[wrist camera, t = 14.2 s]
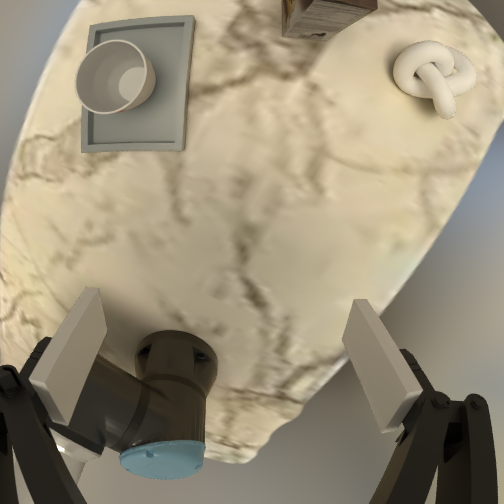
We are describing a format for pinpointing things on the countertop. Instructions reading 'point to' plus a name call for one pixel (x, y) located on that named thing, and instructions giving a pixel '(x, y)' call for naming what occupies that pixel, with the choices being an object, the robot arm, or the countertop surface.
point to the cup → (114, 77)
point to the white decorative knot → (435, 74)
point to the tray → (163, 96)
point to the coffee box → (322, 17)
